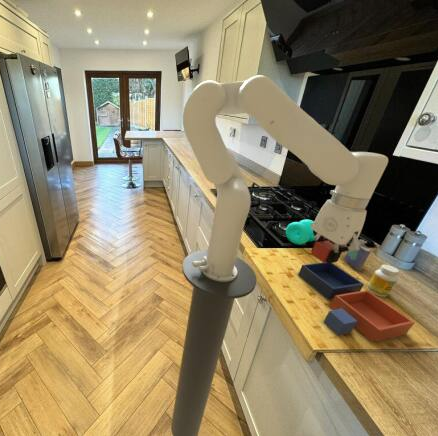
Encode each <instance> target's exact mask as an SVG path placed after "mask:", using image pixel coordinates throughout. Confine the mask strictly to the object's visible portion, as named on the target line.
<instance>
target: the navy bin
mask: <svg viewBox="0 0 438 436" xmlns="http://www.w3.org/2000/svg"><path fill="white" fill-rule="evenodd" d="M298 277H300V278H301V279H302V280H304V282H306V284H308V285H310V286H311V287H312V288H313V289H315V290H316V292H318V293H319V294H320V295H322V296H323V297H324V298H325V299H326V300H329V301H330V300H333V299H334V297H335V295H341V294H347V293H353V292H359V291H362V289H363V287H364V285H365V283H363V282H362V281H360V280H359V279H358V278H356V277H354V276H353V275H351V274H350V273H348V272H347V271H346V270H344V269H343V268H341V267H340V266H338V265H336V264H335V263H327V262H324V263H323V262H322V261H320V262H314V263H307V264H302V265H301V267H300V269H299V272H298Z"/></svg>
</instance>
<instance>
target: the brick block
mask: <svg viewBox="0 0 438 436" xmlns="http://www.w3.org/2000/svg"><path fill="white" fill-rule="evenodd" d="M334 245H335V243H333V242H332V241H330V240H324V241H320V242H316V243H315V246H314V248H313V250H312V249H311V250H312V252H310V255H311V256H313V257H314V258H316V259H317V260H319V261H320V262H323V263H324V262H326V260H327V258H328V256H329V254H330V252H331V251H333V250H334Z"/></svg>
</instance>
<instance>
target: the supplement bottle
mask: <svg viewBox="0 0 438 436" xmlns="http://www.w3.org/2000/svg"><path fill="white" fill-rule="evenodd" d="M399 272H400V270H399V269H398V268H396V267H394V266H392V265H389V264H382V265H381V267H380V268H379V269H376V270H375V271H374V272H373V274H372V276H371V278H370V279H369V281H368V283H367V285H366V288H367V289H366V290H368V291H369V292H371V293H372V294H374V295H375V296H377V297H387V296H388V295H389V294H390V292H391V291H392V289H393V287H394V285H395V284H396V283H397V281H398V280H399V279H398V274H399Z"/></svg>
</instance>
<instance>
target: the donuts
mask: <svg viewBox="0 0 438 436" xmlns="http://www.w3.org/2000/svg"><path fill="white" fill-rule="evenodd" d="M314 221H315V220H311V219H302V220H300V221H293V222H291V223H289V224H288V225H287V226H286V229H285V236H286V238H287V240H288V241H289V242H291V243H292V244H294V245H298V246H299V245H300V246H301V245H304V244H306V243H307V242H315V240H314V237H315V236H314V234H313V230H312V228H311V226H310V224H312V223H314Z"/></svg>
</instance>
